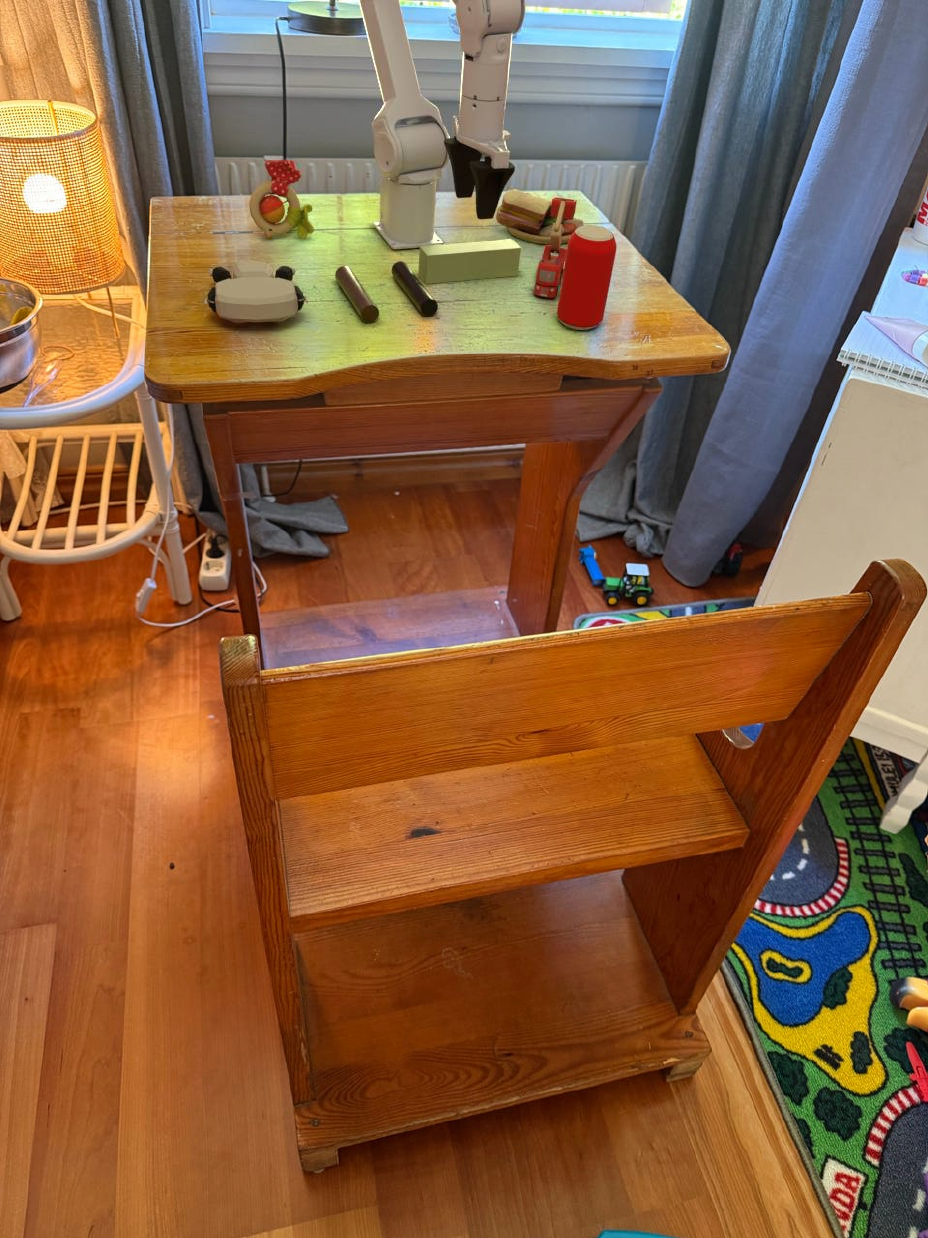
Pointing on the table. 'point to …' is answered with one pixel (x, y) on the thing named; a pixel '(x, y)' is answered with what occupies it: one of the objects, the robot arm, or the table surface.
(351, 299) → the walnut rod
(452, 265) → the bar
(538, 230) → the toy sandwich meal
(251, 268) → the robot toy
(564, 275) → the beverage can
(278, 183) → the bird rattle
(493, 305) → the table surface
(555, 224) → the toy fire truck
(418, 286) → the black rod
